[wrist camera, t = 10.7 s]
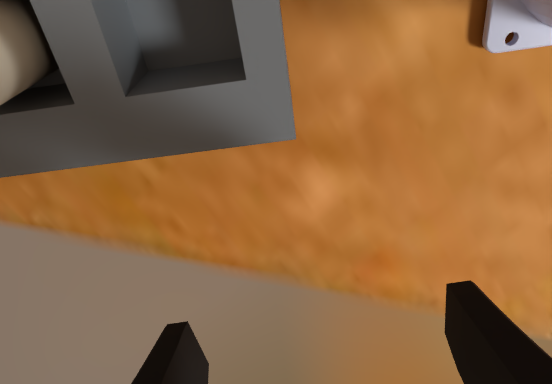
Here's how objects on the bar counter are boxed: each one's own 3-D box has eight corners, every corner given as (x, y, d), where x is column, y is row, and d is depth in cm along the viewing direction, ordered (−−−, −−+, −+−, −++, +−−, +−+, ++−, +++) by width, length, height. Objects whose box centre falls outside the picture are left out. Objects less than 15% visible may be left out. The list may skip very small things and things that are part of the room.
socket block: (259, -164, 13) (254, -196, 10) (291, 99, 18) (296, 139, 15) (-109, -96, 14) (-230, -104, 11) (17, 137, 19) (-38, 182, 15)
